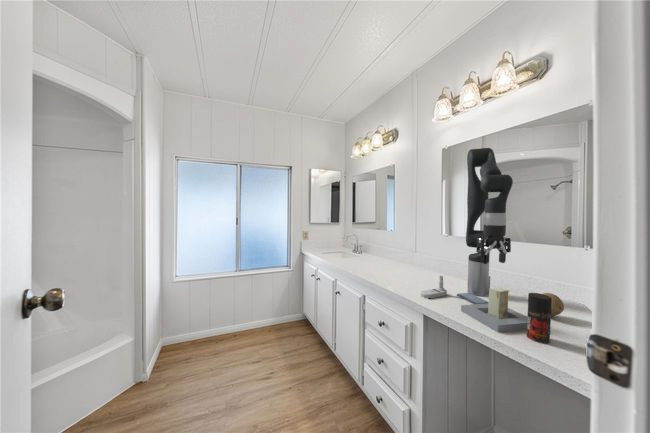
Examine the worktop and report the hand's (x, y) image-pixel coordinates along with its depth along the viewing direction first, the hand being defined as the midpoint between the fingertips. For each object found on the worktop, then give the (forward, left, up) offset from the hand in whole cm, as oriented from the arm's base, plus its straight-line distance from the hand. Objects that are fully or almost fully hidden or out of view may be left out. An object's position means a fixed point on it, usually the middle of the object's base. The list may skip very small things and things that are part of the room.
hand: (493, 263), depth 99 cm
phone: (-6, -17, -22) cm, 28 cm away
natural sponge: (-23, +4, -23) cm, 33 cm away
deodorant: (-1, +17, -23) cm, 28 cm away
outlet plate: (0, +2, -22) cm, 22 cm away
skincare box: (-1, +2, -23) cm, 23 cm away
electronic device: (+9, -25, -23) cm, 35 cm away
